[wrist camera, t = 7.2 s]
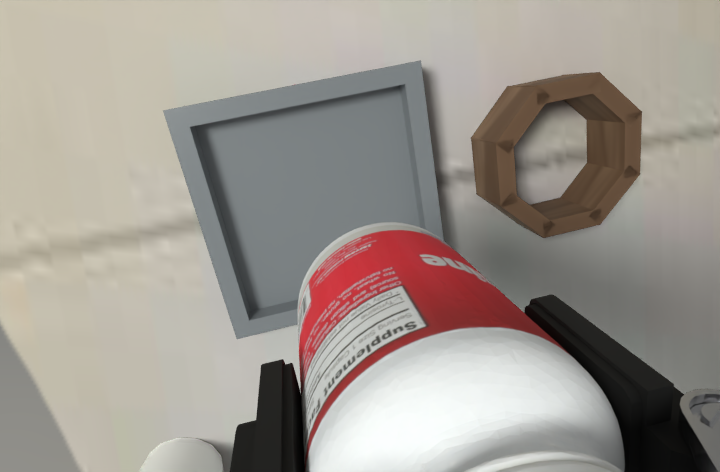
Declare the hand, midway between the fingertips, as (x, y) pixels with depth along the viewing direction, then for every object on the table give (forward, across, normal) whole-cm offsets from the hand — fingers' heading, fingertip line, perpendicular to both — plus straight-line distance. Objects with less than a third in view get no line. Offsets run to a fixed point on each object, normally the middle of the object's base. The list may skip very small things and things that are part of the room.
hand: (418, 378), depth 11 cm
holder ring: (+22, -16, 0) cm, 27 cm away
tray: (+22, +1, 0) cm, 22 cm away
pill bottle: (+5, 0, 0) cm, 5 cm away
